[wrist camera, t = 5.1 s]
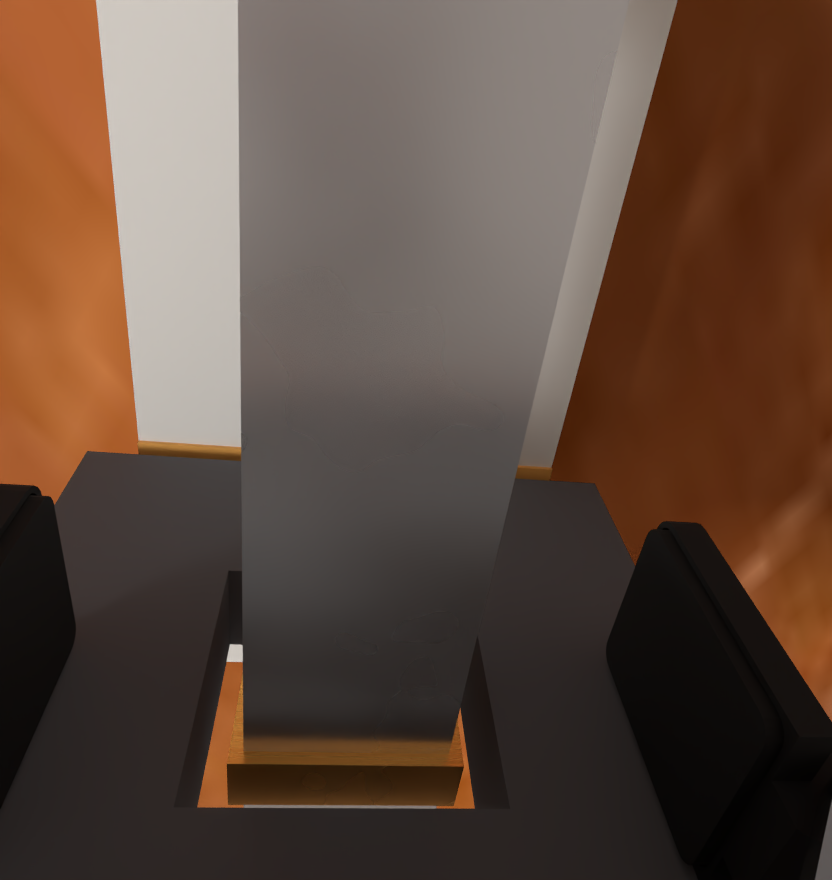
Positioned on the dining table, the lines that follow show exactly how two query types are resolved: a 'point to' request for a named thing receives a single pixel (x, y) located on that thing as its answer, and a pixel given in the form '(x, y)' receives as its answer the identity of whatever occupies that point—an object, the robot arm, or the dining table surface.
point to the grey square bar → (391, 362)
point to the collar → (324, 829)
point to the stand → (218, 233)
